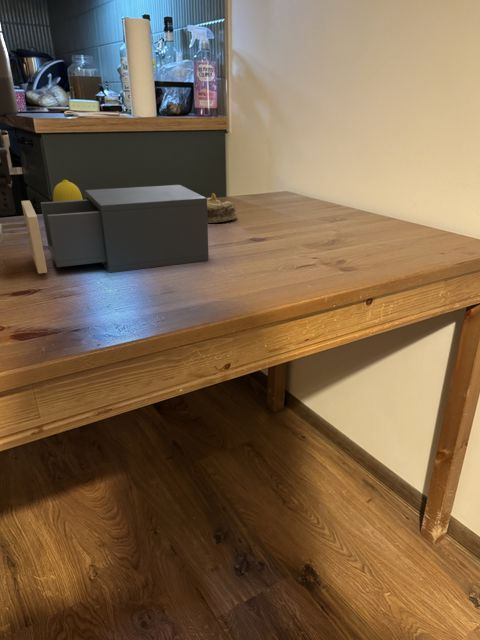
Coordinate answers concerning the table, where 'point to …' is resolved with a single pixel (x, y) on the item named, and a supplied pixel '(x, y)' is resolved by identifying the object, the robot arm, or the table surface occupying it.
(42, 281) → the table surface
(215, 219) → the cake
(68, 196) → the lemon
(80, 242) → the drawer
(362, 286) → the table surface
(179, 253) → the cabinet
